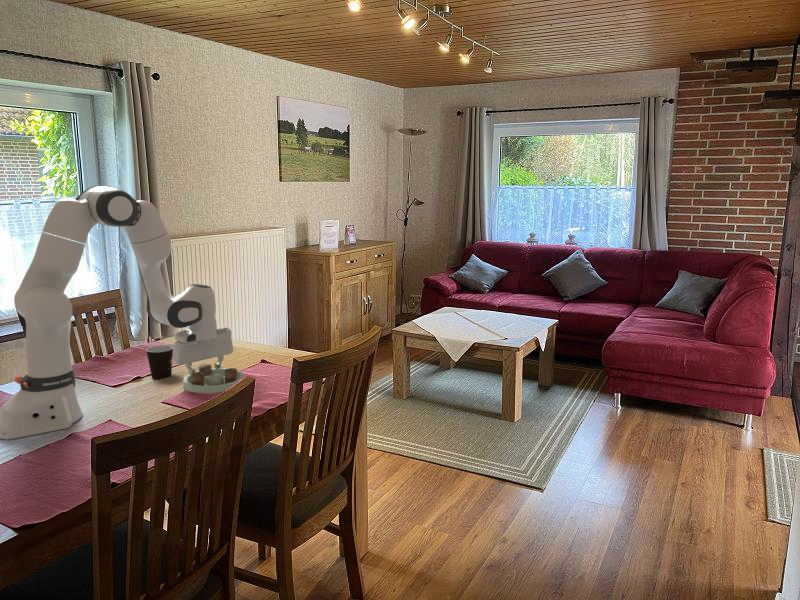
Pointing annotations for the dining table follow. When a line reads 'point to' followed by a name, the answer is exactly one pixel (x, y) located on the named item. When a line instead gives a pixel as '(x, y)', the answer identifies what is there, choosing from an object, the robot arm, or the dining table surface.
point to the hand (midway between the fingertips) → (205, 371)
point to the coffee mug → (160, 361)
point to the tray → (211, 388)
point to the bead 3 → (230, 375)
